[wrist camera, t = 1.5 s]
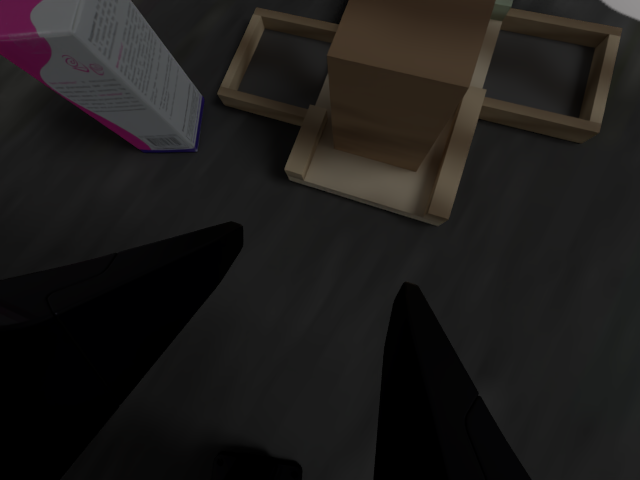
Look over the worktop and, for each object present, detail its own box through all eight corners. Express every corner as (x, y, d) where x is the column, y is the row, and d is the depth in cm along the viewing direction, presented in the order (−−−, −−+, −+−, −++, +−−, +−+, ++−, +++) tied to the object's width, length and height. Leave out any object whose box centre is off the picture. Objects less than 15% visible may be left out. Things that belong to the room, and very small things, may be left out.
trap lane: (554, 262, 20) (606, 256, 16) (203, 153, 24) (175, 127, 20) (610, 14, 23) (666, -42, 19) (290, -41, 27) (281, -97, 23)
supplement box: (206, 96, 25) (93, -57, 14) (198, 153, 24) (71, 37, 13) (150, 98, 26) (-1, -48, 14) (141, 153, 25) (-29, 43, 13)
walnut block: (416, 171, 21) (469, 87, 12) (333, 148, 22) (326, 55, 13) (440, 97, 22) (505, -32, 13) (360, 78, 23) (370, -54, 14)
